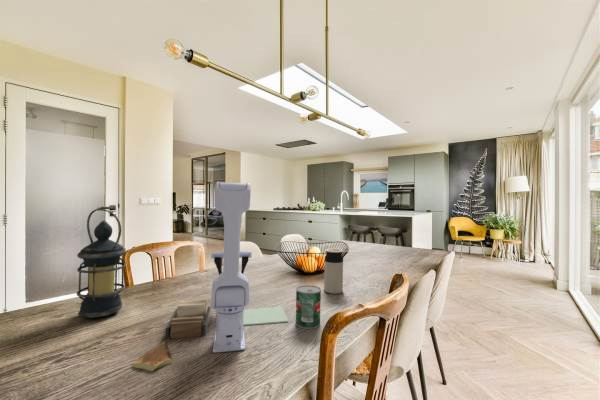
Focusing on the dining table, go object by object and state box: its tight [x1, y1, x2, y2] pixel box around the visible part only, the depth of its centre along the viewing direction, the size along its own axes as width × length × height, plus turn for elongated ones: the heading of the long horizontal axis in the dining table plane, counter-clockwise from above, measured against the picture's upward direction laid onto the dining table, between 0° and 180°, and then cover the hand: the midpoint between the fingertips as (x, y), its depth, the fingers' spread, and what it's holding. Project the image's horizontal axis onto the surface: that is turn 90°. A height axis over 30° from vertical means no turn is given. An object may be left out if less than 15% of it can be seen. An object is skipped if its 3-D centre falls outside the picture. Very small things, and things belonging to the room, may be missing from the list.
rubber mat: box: [243, 306, 289, 327], centre depth 92 cm, size 12×20×1 cm, turn 103°
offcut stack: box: [170, 316, 203, 339], centre depth 79 cm, size 4×8×4 cm, turn 103°
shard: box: [132, 339, 173, 372], centre depth 67 cm, size 11×8×2 cm
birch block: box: [176, 299, 207, 323], centre depth 87 cm, size 4×8×6 cm, turn 103°
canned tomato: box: [295, 284, 322, 330], centre depth 87 cm, size 8×8×11 cm
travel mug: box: [323, 248, 344, 295], centre depth 120 cm, size 8×8×18 cm
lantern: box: [76, 208, 127, 319], centre depth 91 cm, size 14×13×35 cm
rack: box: [164, 306, 212, 340], centre depth 84 cm, size 14×11×3 cm
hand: (231, 277), depth 102 cm, fingers open, 7 cm apart
